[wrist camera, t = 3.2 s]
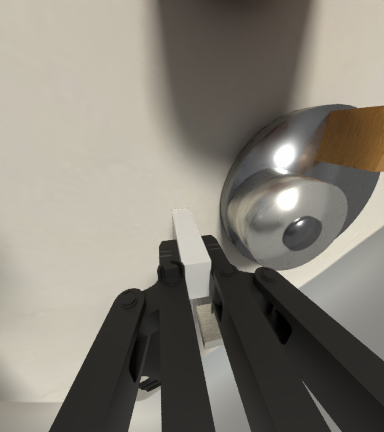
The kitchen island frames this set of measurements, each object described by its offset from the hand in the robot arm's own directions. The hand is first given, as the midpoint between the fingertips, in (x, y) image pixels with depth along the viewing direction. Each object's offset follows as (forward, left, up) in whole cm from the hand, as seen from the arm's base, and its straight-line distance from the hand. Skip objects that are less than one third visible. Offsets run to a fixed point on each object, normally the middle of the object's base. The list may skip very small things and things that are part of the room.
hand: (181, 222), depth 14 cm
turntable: (+14, 0, -4) cm, 14 cm away
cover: (+9, 0, -2) cm, 9 cm away
